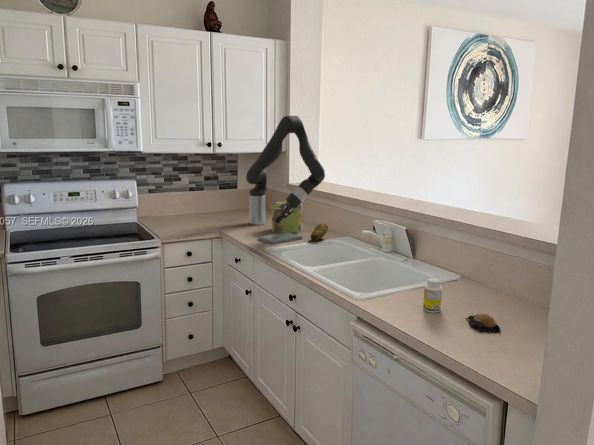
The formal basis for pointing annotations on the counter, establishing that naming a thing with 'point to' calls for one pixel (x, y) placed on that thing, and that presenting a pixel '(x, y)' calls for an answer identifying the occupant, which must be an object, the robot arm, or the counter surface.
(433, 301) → the supplement bottle
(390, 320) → the counter surface
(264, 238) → the slate board
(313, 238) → the potato
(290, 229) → the protein box
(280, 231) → the walnut roller
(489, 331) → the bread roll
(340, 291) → the counter surface
